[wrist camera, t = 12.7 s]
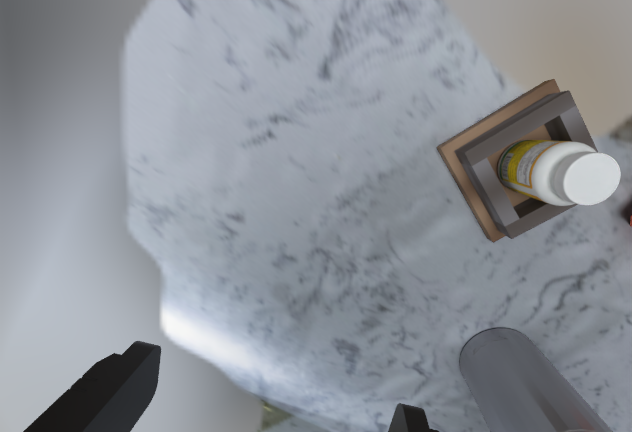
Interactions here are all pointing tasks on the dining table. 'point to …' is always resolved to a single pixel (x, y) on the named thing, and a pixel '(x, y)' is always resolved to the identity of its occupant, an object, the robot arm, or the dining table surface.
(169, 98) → the dining table surface
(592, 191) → the supplement bottle
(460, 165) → the collar stand
